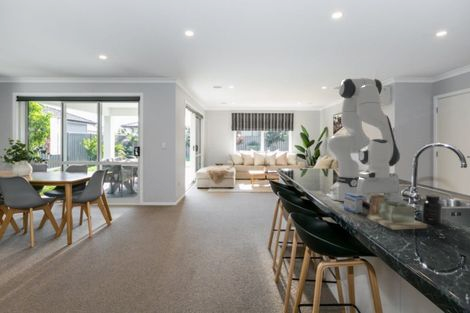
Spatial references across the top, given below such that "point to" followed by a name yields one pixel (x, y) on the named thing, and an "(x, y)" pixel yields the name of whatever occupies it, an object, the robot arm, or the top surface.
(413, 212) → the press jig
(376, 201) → the peg
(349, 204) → the medicine box
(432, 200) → the supplement bottle
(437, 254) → the top surface
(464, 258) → the top surface
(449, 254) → the top surface
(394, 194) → the syrup box
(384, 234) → the top surface
